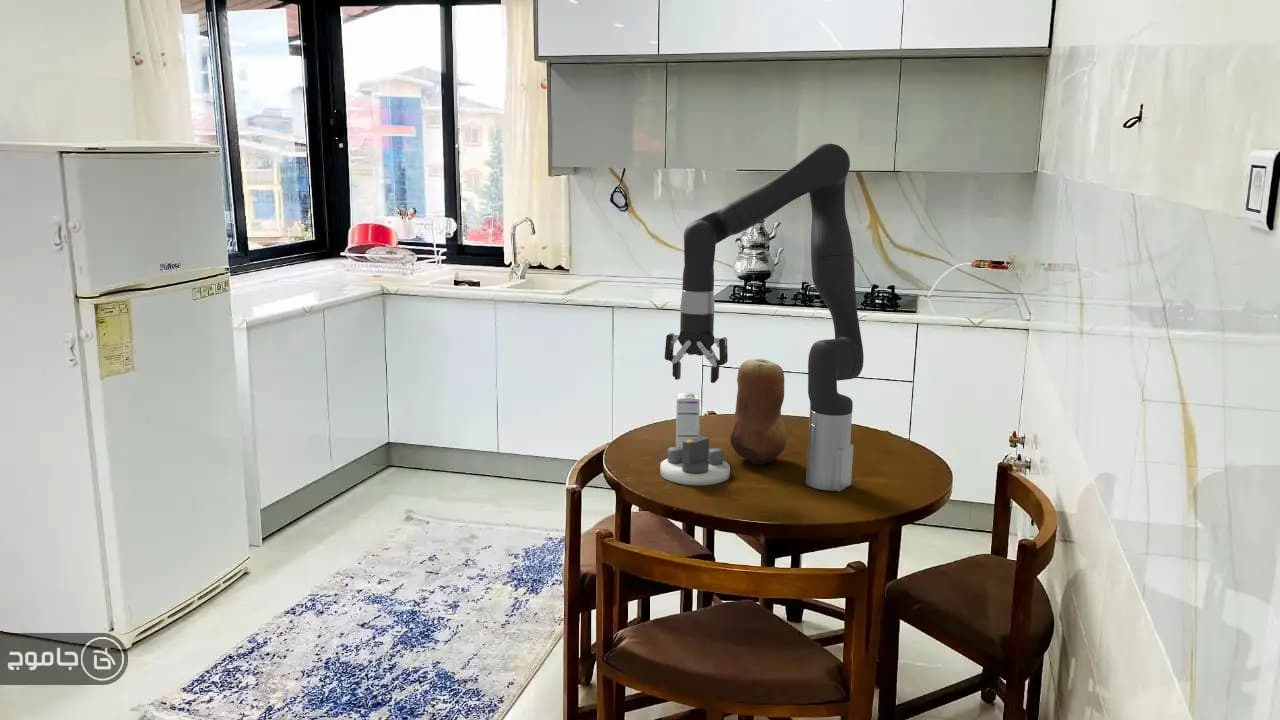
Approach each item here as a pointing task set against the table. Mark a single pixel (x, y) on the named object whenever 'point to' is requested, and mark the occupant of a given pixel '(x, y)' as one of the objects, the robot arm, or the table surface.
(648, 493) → the table surface
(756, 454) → the butternut squash
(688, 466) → the wing knob
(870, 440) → the table surface
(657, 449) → the table surface
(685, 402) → the syrup box
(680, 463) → the plate
